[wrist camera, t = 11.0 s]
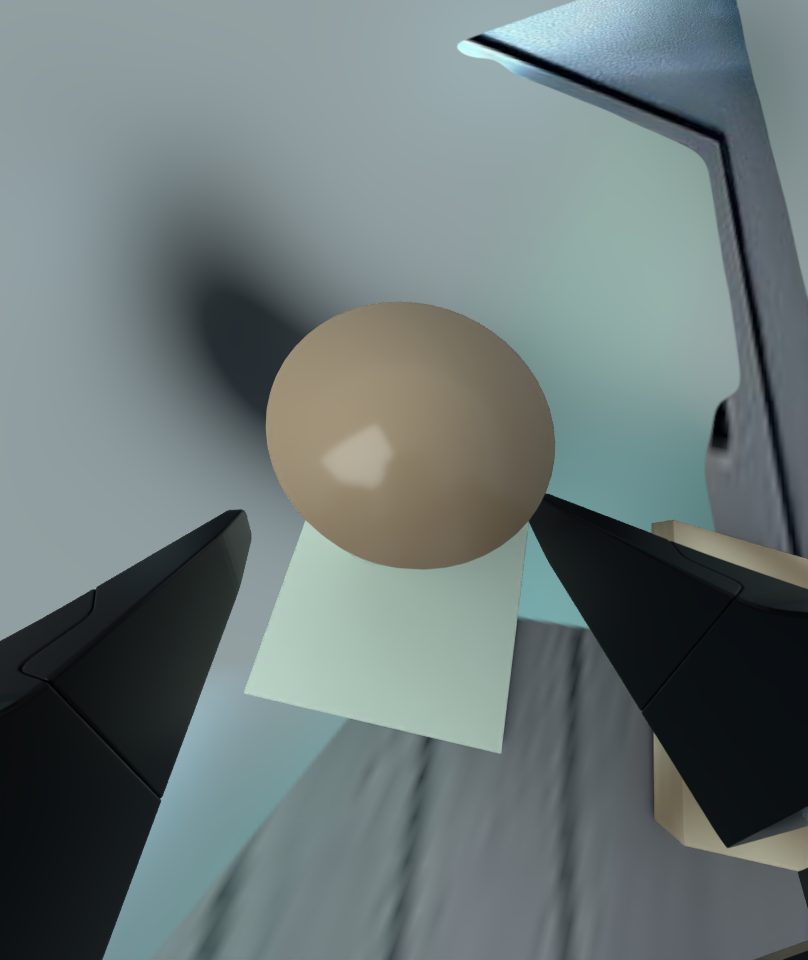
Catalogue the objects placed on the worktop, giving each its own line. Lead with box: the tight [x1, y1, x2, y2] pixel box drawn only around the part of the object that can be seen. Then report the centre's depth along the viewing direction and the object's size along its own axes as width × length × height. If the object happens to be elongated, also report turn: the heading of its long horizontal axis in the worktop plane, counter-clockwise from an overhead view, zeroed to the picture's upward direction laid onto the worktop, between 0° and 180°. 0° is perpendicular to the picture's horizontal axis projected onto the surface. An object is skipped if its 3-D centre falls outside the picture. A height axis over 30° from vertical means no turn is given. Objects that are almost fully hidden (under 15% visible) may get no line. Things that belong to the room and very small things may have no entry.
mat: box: [244, 521, 529, 754], centre depth 17 cm, size 13×13×1 cm
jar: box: [266, 302, 555, 570], centre depth 12 cm, size 6×6×12 cm
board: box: [652, 520, 808, 871], centre depth 17 cm, size 16×11×2 cm
